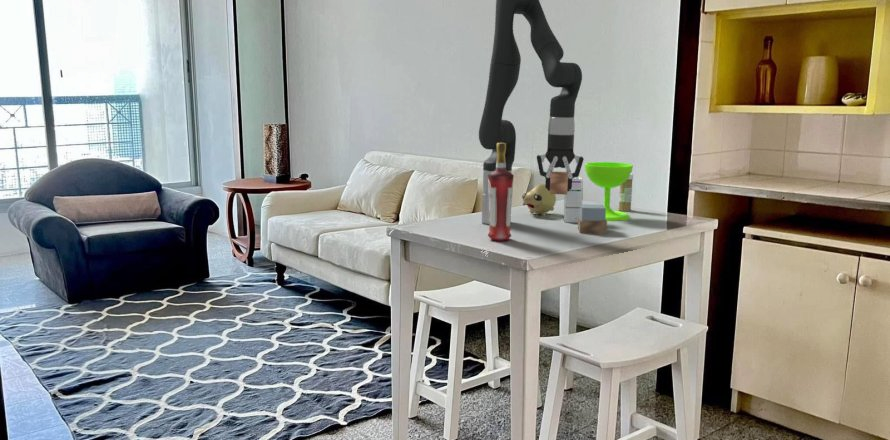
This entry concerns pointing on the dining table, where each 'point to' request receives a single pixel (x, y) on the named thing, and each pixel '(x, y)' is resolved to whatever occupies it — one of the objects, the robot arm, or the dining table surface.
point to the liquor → (500, 198)
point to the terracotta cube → (558, 183)
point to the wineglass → (609, 182)
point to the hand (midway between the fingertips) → (558, 190)
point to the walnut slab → (592, 226)
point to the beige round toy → (539, 200)
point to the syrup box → (573, 201)
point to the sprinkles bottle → (625, 195)
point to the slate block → (592, 212)
